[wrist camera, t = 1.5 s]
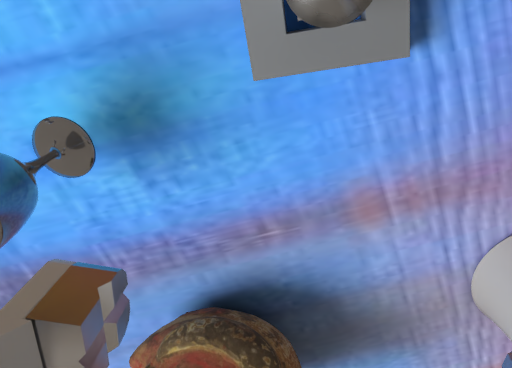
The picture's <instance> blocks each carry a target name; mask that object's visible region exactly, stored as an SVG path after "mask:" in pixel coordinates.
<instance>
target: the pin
mask: <svg viewBox="0 0 512 368" xmlns="http://www.w3.org/2000/svg"><path fill="white" fill-rule="evenodd" d="M286 1H287V3H288V5H289V6H290V8H291V9H292V11H293V12H294V13H295V14H296V15H297V19H298V21H300V20H303V21H304V22H306V23H308V24H310V25H313V26H316V27H321V28H333V27H338V26H342V25H344V24H347V23H349V22H351V21H353V20H354V19H356V18H357V17H358V16H360V15H361V14H362V13H363V12H364V11H365V10H366V9H367V8H368V6H369V5H370V3H371V2H372V1H373V0H286Z"/></svg>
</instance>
